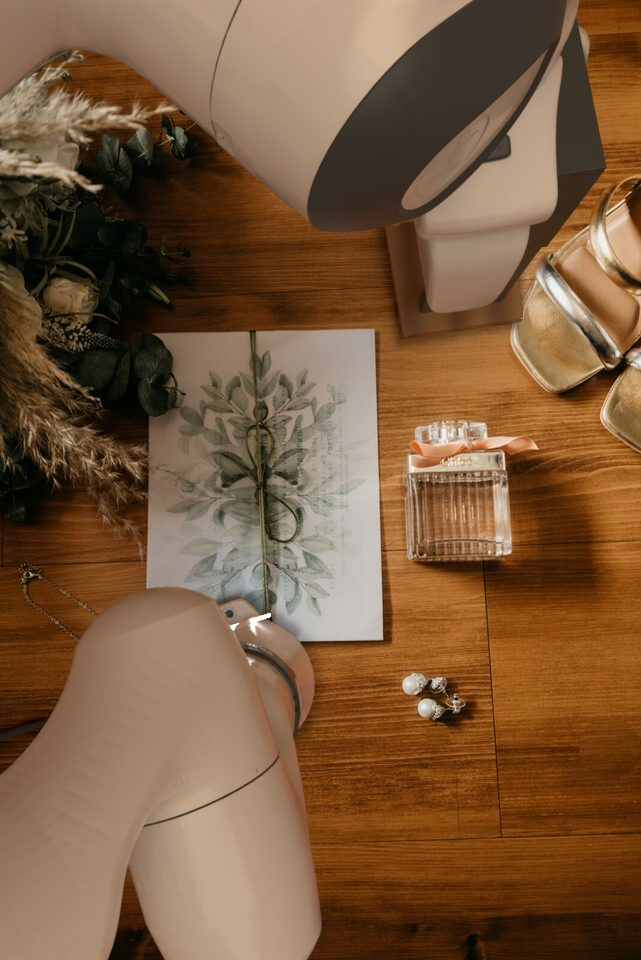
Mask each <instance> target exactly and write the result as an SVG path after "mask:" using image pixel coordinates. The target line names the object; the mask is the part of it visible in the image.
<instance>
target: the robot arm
mask: <svg viewBox="0 0 641 960" xmlns="http://www.w3.org/2000/svg"><path fill="white" fill-rule="evenodd" d="M579 6H580V0H0V101H1V100H2V99H3V98H5V96H7V95H8V94H9V93H10V92H11V91H12V90H14V89H15V88H16V87H17V86H18V85H19V84H21V82H23V81H24V80H25V79H26V78H28V77H29V75H31V74H32V73H34V71H35V70H37V69H38V68H39V67H40V66H41V65H42V64H43V63H44V62H46V61H47V60H48V59H49V58H52V56H54V55H55V54H57V53H60V52H65V51H82V52H83V51H84V52H89V53H94V54H97V55H100V56H104V57H107V58H110V59H112V60H114V61H117V62H119V63H121V64H123V65H125V66H126V67H128V68H130V69H132V70H133V71H134V72H136V73H137V74H138V75H140V76H141V77H142V79H144V80H145V81H147V83H149V84H150V85H151V86H152V87H154V88H155V89H156V90H157V91H158V92H159V93H160V94H161V95H163V96H164V97H165V98H166V99H168V100H169V101H170V102H171V103H172V104H173V105H174V106H175V107H177V108H178V109H179V110H180V112H182V113H184V114H185V115H186V116H187V117H188V118H189V119H190V120H192V122H194V123H195V124H196V125H197V126H198V127H200V128H201V129H202V130H203V131H204V132H205V133H207V135H209V136H210V137H211V138H213V140H215V141H216V143H217V144H218V146H219V147H220V148H221V149H222V150H223V151H224V152H225V153H227V154H228V155H229V156H230V157H231V158H233V160H235V161H236V162H237V163H238V164H239V165H240V166H241V167H242V168H244V169H245V170H246V171H247V172H249V174H251V175H252V176H253V177H254V178H255V179H256V180H257V181H259V182H260V183H261V184H262V185H263V186H264V187H266V188H267V189H268V190H269V191H270V192H272V193H273V194H274V195H275V196H277V198H279V199H280V200H281V201H282V202H283V203H285V204H286V205H287V206H288V207H289V208H291V209H292V210H294V212H296V213H297V214H298V215H299V216H301V217H302V218H303V219H305V220H306V221H308V222H309V223H310V225H311V226H312V227H313V228H314V229H315V230H317V231H321V232H328V233H356V232H365V231H370V230H375V229H379V228H384V226H388V225H393V224H396V223H400V222H403V221H407V220H411V219H413V220H414V226H415V232H416V237H417V243H418V249H419V255H420V261H421V267H422V273H423V278H424V284H425V292H426V299H427V302H428V305H429V307H430V308H431V310H432V311H434V312H436V313H449V312H458V311H465V310H470V309H475V308H480V307H483V306H487V305H489V304H491V303H492V302H493V301H494V300H495V299H496V298H497V297H498V296H499V295H500V293H501V292H502V291H503V289H504V288H505V286H506V285H507V284H508V282H509V280H510V279H511V277H512V276H513V274H514V272H515V271H516V269H517V267H518V265H519V264H520V262H521V260H522V258H523V256H524V253H525V250H526V247H527V243H528V238H529V232H530V226H531V225H534V224H538V223H541V222H545V221H547V220H548V219H549V218H550V216H551V215H552V213H553V212H554V210H555V207H556V204H557V199H558V184H557V130H556V117H557V105H558V97H559V90H560V84H561V77H562V68H563V59H562V56H560V54H561V52H562V49H563V47H564V45H565V43H566V41H567V39H568V37H569V35H570V33H571V30H572V27H573V24H574V21H575V18H576V16H577V14H578V11H579V10H578V9H579ZM228 611H231V612H232V616H228V615H227V612H228ZM270 617H271V613H266V614H263V615H261V613H260V612H259V611H258V610H257V608H256V607H255V606H253V604H251V602H249V600H246V599H245V598H235V599H233V600H230V601H226V602H224V603H222V604H218V603H217V601H216V600H215V599H214V598H213V597H210V596H208V595H207V594H205V593H202V592H200V591H197V590H194V589H190V588H187V587H180V586H167V585H165V586H155V587H149V588H148V587H147V588H144V589H141V590H137V591H135V592H132V593H130V594H127V595H125V596H123V597H121V598H119V599H118V600H115V602H113V603H112V604H110V605H108V606H107V607H106V608H105V609H103V610H102V611H101V612H100V613H99V614H98V615H97V616H96V617H95V618H94V619H93V620H92V621H91V622H90V623H89V625H88V626H87V628H86V629H85V630H84V631H83V634H82V635H81V636H80V638H79V640H78V642H77V644H76V646H75V649H74V652H73V656H72V657H73V658H72V662H71V665H70V669H69V672H68V676H67V679H66V681H65V685H64V687H63V690H62V692H61V694H60V696H59V699H58V700H57V702H56V705H55V707H54V708H53V710H52V712H51V714H50V716H48V717H47V718H44V719H40V720H37V721H34V722H30V723H28V724H27V723H26V724H25V725H24V724H23V725H21V726H18V727H15V728H11V729H9V730H6V731H3V732H1V733H0V743H1V742H3V741H5V740H9V739H11V738H13V737H18V736H20V735H23V734H26V733H29V732H33V731H35V730H39V729H40V731H39V732H38V734H37V735H36V736H35V738H34V739H33V740H32V741H31V742H30V744H29V745H28V747H26V749H25V750H24V751H23V752H22V754H20V756H18V758H17V759H16V760H14V762H13V763H12V764H11V765H10V766H9V767H8V768H6V770H4V771H3V772H2V773H1V774H0V960H109V957H110V954H111V952H112V949H113V947H114V944H115V939H116V937H117V933H118V932H117V931H118V927H119V922H120V917H121V916H120V915H121V909H122V900H123V894H124V886H125V880H126V875H127V871H128V869H129V874H130V876H131V879H132V884H133V886H134V890H135V892H136V896H137V899H138V902H139V906H140V909H141V912H142V916H143V919H144V923H145V925H146V927H147V930H148V931H149V933H150V935H151V937H152V939H153V941H154V943H155V945H156V946H157V948H158V951H159V952H160V954H161V956H162V957H163V960H308V959H309V957H310V955H312V952H313V950H314V949H315V946H316V944H317V942H318V939H319V938H320V935H321V932H322V927H323V922H322V920H323V919H322V911H321V904H320V903H321V902H320V896H319V887H318V883H317V875H316V868H315V863H314V857H313V851H312V844H311V837H310V829H309V819H308V813H307V807H306V799H305V793H304V787H303V781H302V775H301V769H300V763H299V759H298V754H297V748H296V744H295V738H296V736H297V733H298V731H299V729H300V728H301V726H302V725H303V723H304V722H305V720H306V719H307V717H308V715H309V713H310V710H311V708H312V705H313V702H314V696H315V690H316V688H315V687H316V680H315V672H314V667H313V663H312V661H311V659H310V656H309V654H308V652H307V650H306V648H305V647H304V646H303V645H302V643H301V641H299V639H298V638H297V637H296V636H295V635H294V634H293V633H291V632H290V631H289V630H287V628H285V627H283V626H281V625H279V623H278V624H277V623H275V622H274V621H271V620H269V619H267V618H270Z"/></svg>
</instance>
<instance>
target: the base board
mask: <svg viewBox="0 0 641 960" xmlns="http://www.w3.org/2000/svg"><path fill="white" fill-rule="evenodd" d="M383 232H384V237H385V243H386V247H387V255H388V262H389V267H390V273H391V279H392V285H393V291H394V297H395V302H396V303H395V304H396V308H397V309H396V310H397V315H398V321H399V326H400V332H401V338H402V339H401V340H407V339H415V338H420V337H427V336H433V335H441V334H446V333H447V334H448V333H453V332H461V331H467V330H474V329H481V328H487V327H494V326H501V325H509V324H514V323H521V322H523V320H524V319H521V318H523V310H524V306H523V301H522V295H521V289H520V283H519V279H518V280H517V281H516V283H515V284H514V286H513V287H512V288H511V290H510V291H509V292H508V294H507V295H506V296H505V298H504V299H503V300H502V301H500V302H494V303H491V304H489V305H487V306H483V307H480V308H475V309H470V310H465V311H458V312H449V313H436V312H434V311H433V312H428V313H421V314H420V309H419V303H418V300H419V298H420V295H421V293H422V290H423V288H424V285H425V284H424V278H423V273H422V267H421V261H420V255H419V249H418V243H417V237H416V232H415V226H414V221H409V222H402V223H401V224H400V225H398V226H392V225H388V226H384V227H383Z"/></svg>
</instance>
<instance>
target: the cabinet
mask: <svg viewBox="0 0 641 960" xmlns="http://www.w3.org/2000/svg"><path fill="white" fill-rule="evenodd" d="M578 21H579V20H578V17H577V15H576V18H575V21H574V24H573V27H572V30H571V33H570V35H569V37H568V39H567V41H566V43H565V45H564V47H563V49H562V52H561V54H560V56H562V59H563V68H562V77H561V84H560V90H559V97H558V105H557V117H556V130H557V184H558V199H557V204H556V207H555V210H554V212H553V213H552V215H551V216H550V218H549V219H548V220H547V221H545V222H541V223H538V224H534V225H531V226H530V232H529V238H528V243H527V247H526V250H525V253H524V256H523V258H522V260H521V262H520V264H519V265H518V267H517V269H516V271H515V272H514V274H513V276H512V277H511V279H510V280H509V282H508V284H507V285H506V286H505V288H504V289H503V291H502V292H501V293H500V295H499V296H498V297H497V298H496V299H495V300H494V301H493V302H492V303H494V302H500V301H502V300H503V299H504V298H505V296H506V295H507V294H508V292H509V291H510V290H511V288H512V287H513V286H514V284H515V283H516V281H517V280H518V281H519V279H520V277H521V276H522V275H523V274H524V272H525V271H526V270H527V268H528V267H529V265H530V264H531V263H532V261H533V260H534V258H535V257H536V256H537V255H538V253H539V252H540V250H542V248H547V247H548V246H549V245H550V243H551V242H552V241H553V239H554V238H555V237H556V236H557V234H558V233H559V232H560V231H561V229H562V228H563V226H564V225H565V224H566V222H567V221H568V220H569V218H570V217H571V216H572V215H573V213H574V212H575V211H576V209H577V208H578V207H579V205H580V204H581V202H583V200H584V198H585V197H586V196H587V194H588V193H589V192H590V190H591V189H592V188H593V186H595V184H596V182H597V181H598V180H599V178H600V177H601V176H602V174H603V173H604V172H605V170H606V169H607V163H606V158H605V153H604V148H603V142H602V137H601V133H600V128H599V122H598V117H597V113H596V107H595V102H594V98H593V92H592V87H591V82H590V78H589V73H588V67H587V64H586V62H585V57H584V52H583V47H582V41H581V36H580V31H579V26H580V25H579V22H578ZM418 303H419V309H420V314H421V313H428V312H433V311H432V310H431V308H430V307H429V305H428V302H427V299H426V292H425V285H424V288H423V290H422V293H421V295H420V298H419V300H418Z"/></svg>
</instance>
